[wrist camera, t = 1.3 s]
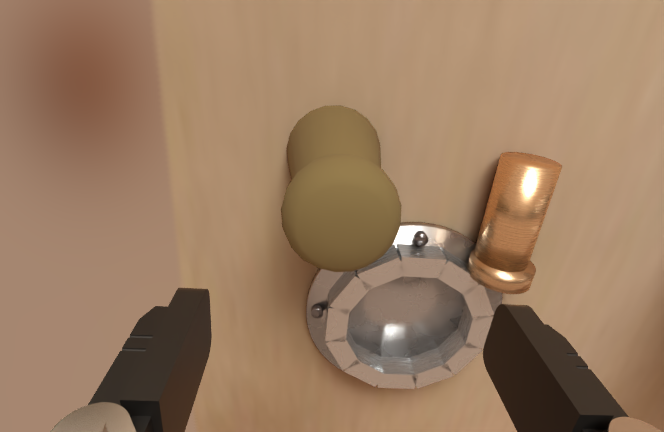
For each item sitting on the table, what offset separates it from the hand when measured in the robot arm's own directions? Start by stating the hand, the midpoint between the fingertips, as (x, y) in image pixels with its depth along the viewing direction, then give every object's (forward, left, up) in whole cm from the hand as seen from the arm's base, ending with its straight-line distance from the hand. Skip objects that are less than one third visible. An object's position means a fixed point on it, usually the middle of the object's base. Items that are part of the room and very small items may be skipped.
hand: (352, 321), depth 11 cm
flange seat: (-7, +12, -16) cm, 21 cm away
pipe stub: (-12, +3, -16) cm, 21 cm away
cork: (0, 0, -17) cm, 17 cm away
